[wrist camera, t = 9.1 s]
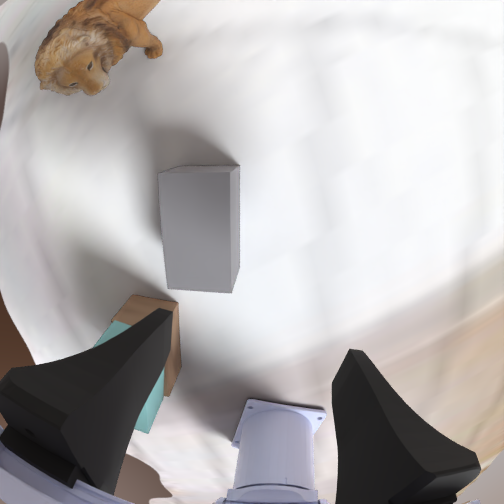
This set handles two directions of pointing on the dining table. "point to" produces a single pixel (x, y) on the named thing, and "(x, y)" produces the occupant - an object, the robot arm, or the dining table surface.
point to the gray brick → (201, 226)
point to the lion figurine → (93, 44)
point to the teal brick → (155, 396)
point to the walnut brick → (144, 306)
